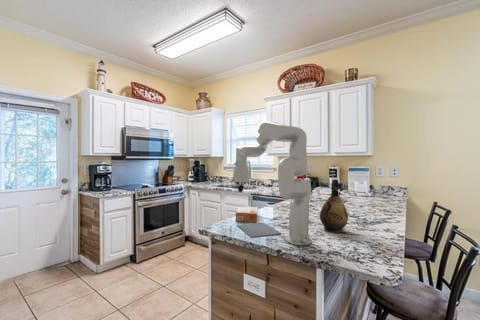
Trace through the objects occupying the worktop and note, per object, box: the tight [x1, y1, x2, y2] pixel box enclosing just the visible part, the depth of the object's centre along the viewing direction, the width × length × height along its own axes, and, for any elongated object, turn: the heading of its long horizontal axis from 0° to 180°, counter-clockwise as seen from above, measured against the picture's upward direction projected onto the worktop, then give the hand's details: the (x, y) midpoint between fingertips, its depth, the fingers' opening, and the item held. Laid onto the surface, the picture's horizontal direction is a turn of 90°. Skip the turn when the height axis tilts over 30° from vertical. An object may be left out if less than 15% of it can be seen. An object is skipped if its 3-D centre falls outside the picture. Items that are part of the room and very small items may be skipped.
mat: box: [237, 222, 282, 239], centre depth 137 cm, size 22×18×1 cm
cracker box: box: [235, 205, 259, 223], centre depth 164 cm, size 14×6×21 cm
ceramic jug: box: [319, 178, 349, 233], centre depth 140 cm, size 17×15×30 cm
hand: (240, 191), depth 159 cm, fingers closed
